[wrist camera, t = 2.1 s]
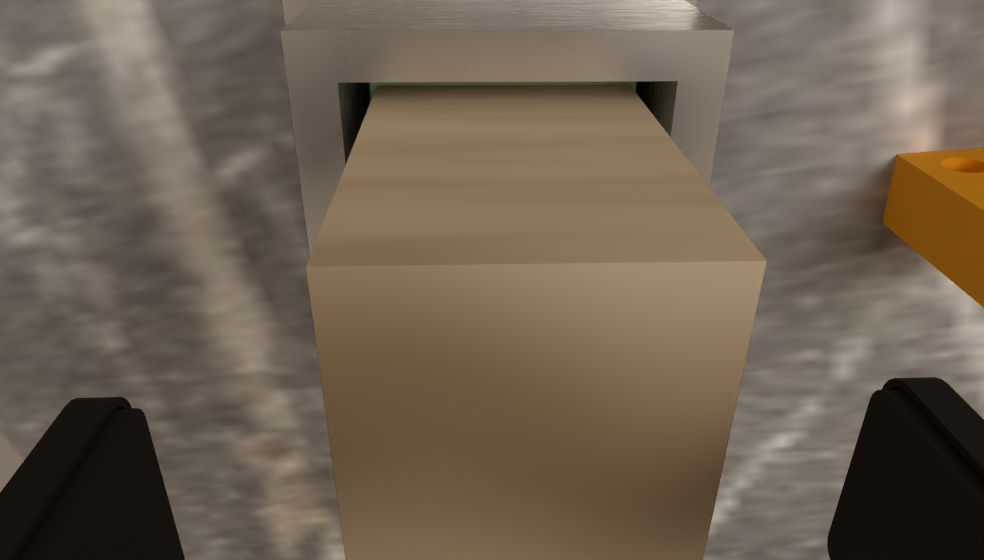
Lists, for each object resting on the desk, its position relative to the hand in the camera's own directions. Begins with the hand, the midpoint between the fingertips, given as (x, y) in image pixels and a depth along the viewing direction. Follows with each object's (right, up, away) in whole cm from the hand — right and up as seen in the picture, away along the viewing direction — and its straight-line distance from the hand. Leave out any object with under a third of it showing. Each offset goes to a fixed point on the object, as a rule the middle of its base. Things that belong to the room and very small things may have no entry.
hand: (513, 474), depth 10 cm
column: (0, +8, +13) cm, 15 cm away
